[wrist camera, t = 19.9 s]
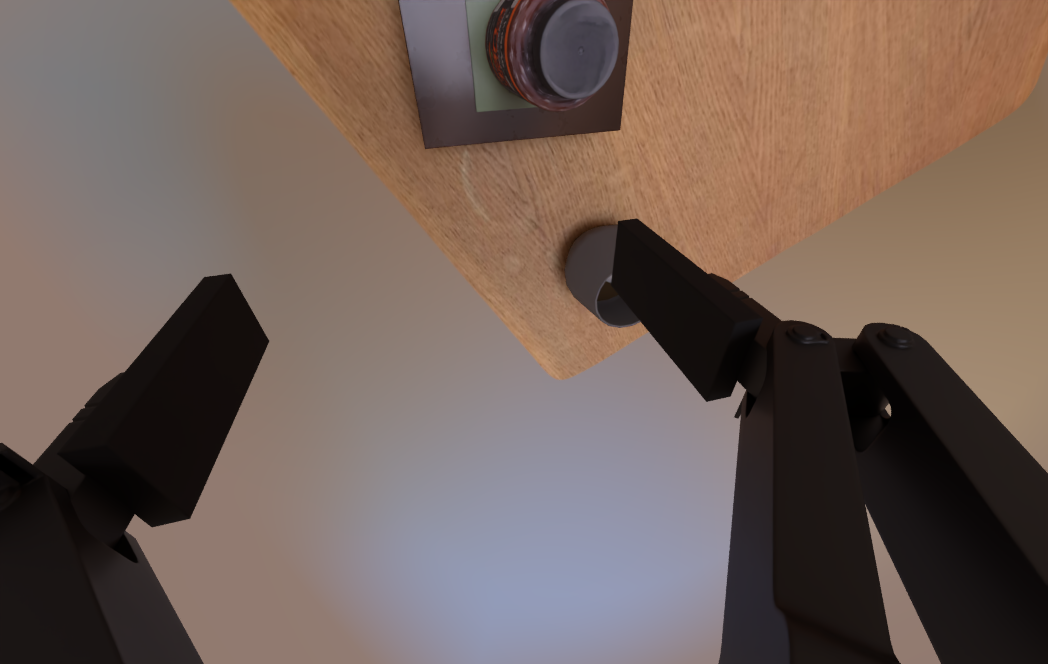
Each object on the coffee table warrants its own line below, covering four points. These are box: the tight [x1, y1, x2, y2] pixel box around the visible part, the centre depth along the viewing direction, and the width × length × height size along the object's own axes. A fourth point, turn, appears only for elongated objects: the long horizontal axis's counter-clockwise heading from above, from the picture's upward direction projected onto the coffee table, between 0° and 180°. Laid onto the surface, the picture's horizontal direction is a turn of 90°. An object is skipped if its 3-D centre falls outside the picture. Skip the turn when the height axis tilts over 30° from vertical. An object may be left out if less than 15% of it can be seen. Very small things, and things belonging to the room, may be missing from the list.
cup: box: [565, 225, 641, 328], centre depth 42 cm, size 10×9×10 cm
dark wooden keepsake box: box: [398, 0, 633, 149], centre depth 28 cm, size 16×16×6 cm
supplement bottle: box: [485, 0, 619, 112], centre depth 23 cm, size 6×6×11 cm
